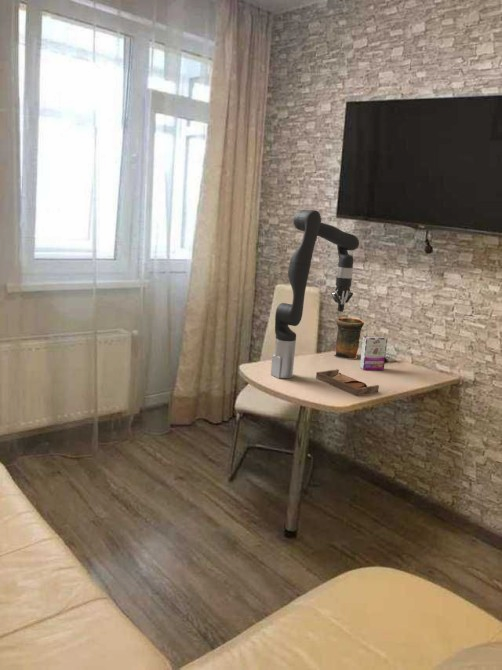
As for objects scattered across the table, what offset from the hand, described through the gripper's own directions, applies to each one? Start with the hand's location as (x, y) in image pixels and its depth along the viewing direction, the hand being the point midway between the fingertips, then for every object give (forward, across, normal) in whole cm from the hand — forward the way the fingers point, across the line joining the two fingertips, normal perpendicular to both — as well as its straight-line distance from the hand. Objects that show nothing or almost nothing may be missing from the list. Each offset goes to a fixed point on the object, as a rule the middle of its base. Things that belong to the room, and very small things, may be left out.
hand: (340, 311), depth 274 cm
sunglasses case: (+28, +20, +29) cm, 45 cm away
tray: (+27, +19, +28) cm, 44 cm away
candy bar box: (+27, -12, +14) cm, 33 cm away
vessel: (+27, -17, -9) cm, 33 cm away
